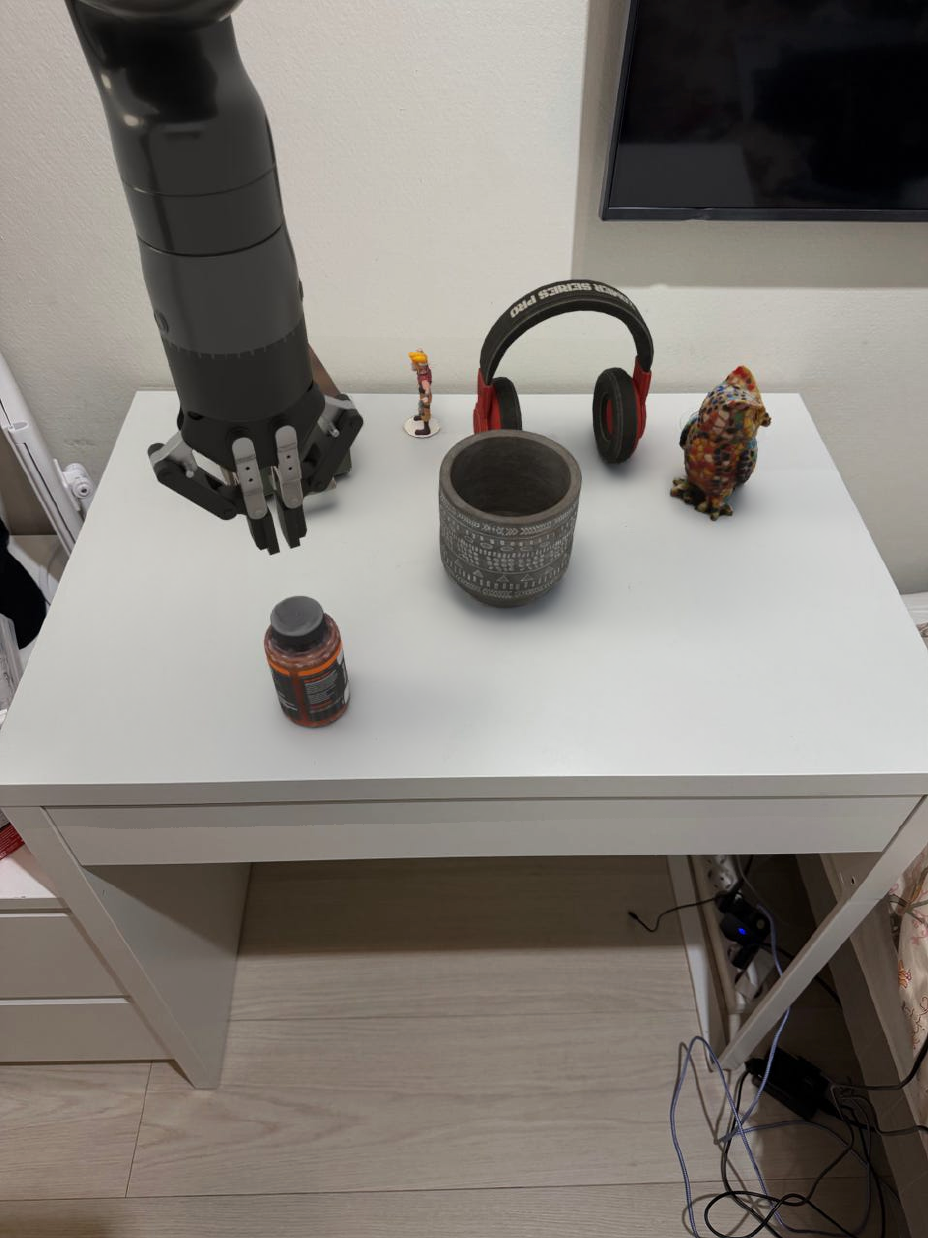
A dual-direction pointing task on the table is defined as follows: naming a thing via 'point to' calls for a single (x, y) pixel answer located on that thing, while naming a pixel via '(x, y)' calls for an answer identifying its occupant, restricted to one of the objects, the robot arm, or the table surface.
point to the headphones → (615, 389)
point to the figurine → (721, 444)
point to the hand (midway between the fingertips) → (280, 542)
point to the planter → (507, 515)
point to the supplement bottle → (306, 662)
